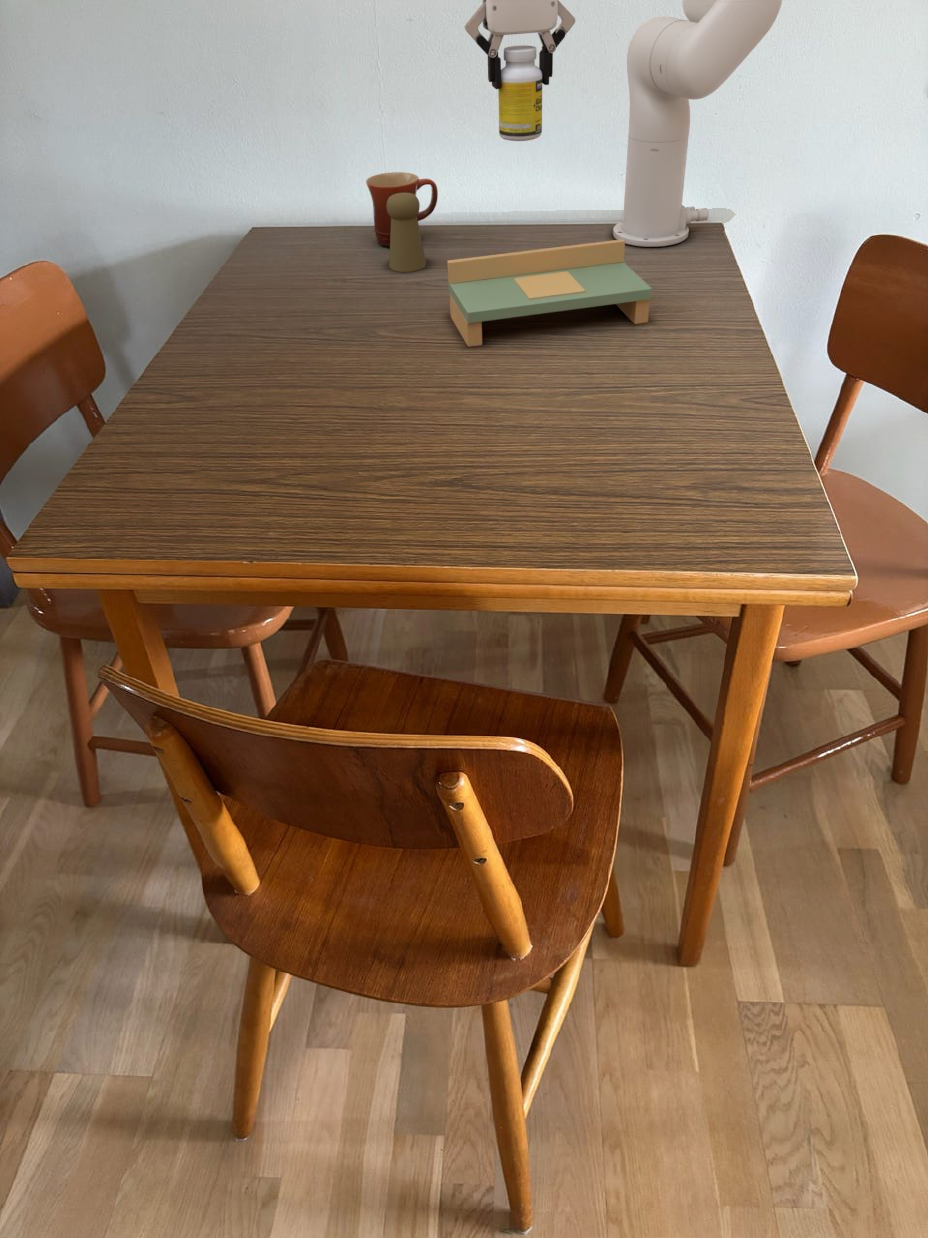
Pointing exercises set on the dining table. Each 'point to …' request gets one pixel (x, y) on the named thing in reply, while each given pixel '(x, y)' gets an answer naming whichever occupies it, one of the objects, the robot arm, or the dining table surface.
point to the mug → (387, 186)
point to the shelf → (543, 285)
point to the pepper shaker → (405, 233)
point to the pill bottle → (520, 95)
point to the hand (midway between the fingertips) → (520, 83)
